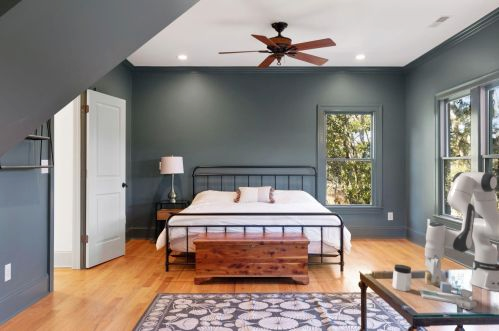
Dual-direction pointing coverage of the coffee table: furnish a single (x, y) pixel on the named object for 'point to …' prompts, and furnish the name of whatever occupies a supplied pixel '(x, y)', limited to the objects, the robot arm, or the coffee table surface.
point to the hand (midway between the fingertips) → (431, 280)
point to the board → (439, 296)
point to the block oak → (428, 279)
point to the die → (442, 278)
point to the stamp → (466, 300)
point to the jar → (402, 278)
